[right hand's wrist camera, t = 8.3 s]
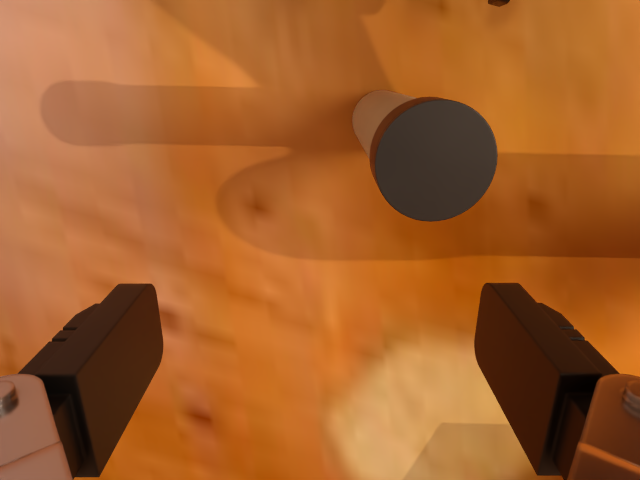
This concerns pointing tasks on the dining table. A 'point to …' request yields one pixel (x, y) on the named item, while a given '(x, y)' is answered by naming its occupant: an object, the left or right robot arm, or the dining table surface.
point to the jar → (374, 114)
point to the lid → (433, 158)
